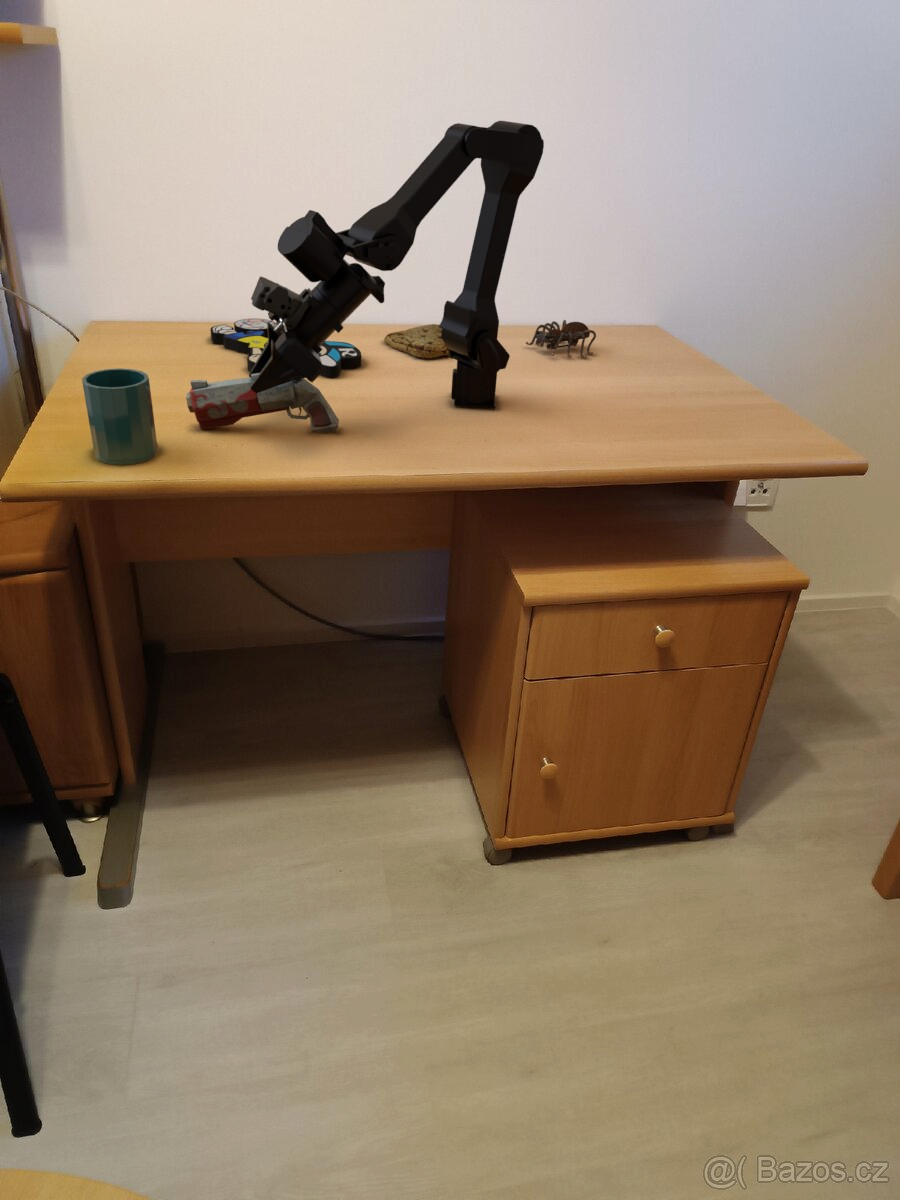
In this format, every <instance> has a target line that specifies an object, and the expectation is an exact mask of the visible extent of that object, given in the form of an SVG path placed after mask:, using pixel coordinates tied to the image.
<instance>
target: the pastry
mask: <svg viewBox="0 0 900 1200" xmlns="http://www.w3.org/2000/svg"><path fill="white" fill-rule="evenodd" d="M439 325H440V324H435V323H434V324H433V323H432V324H425V325H419V326H416V327H412V328H408V329H405V330H399V331H394V332H390V333H388V334H387V335H385V336H384V343H385V344H386V345H387V346H389V347H391V348H393V349H395V350H396V351H400V352H404V353H407V354H409V355H410V356H414V357H418V358H423V359H424V358H425V359H435V358H439V357H442V356H449V353H448V349H447V347H446V346H445V344H444V342H443V340H442V337H441V333H442V328H439Z"/></svg>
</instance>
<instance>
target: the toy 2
mask: <svg viewBox="0 0 900 1200" xmlns="http://www.w3.org/2000/svg"><path fill="white" fill-rule="evenodd" d="M540 329H542V330H540ZM546 330H547V331H546ZM591 334H592V335H593V337H592V339H590V342H589V344H588V345H587V347H586V353H587V355H589V356H591V355H592V356H593V354H594V352H593V351H590V348H591V347H592V344H593V342H594V341H595V339H596V338H597V333H596V331H594V330H592V329H589V326H588V325H586V324H585V323H584V322H580V321H571V322H568V323H567V320H566V319H564V320H562V326H561V328H560V324H559V323H558V322H557V321H555V320H554V321H553V320H552V322H551V323H550V322H546V323H545V324H539V325H538V326H537V327H536V330H535V332H534V335H533V337H532V339H531V341H530V342H528V341H526V342H525V344H526V345H527V346H533V345H534V344H535V346H539V347H540V348H544V346H545V347H546V349H547V350H552V353H551V356H552V357H553V356H555V355H556V354H555V353H556V351H557V349H559V348H566V347H567V352H566V356H567V358H572V354H571V353H570V352H571V347H572V346H573V347H576V346H577V345H578V343H579V340H581V344H580V352H579V356H580V357H581V359H587V358H588V356H587V355H584V354H583V353H584V348H585V341H586V339H588V338H590V336H591ZM563 342H567V344H562V345H560V344H561V343H563ZM545 343H546V345H545Z"/></svg>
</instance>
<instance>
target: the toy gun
mask: <svg viewBox="0 0 900 1200" xmlns="http://www.w3.org/2000/svg"><path fill="white" fill-rule="evenodd" d="M259 374H260V373H256V374H252V375H251V377H249V376H248V377H242V378H241V377H240V378H234V379H226V380H219V381H218V380H217V381H213V382H208V380H207V379H191V380H190V386H191V388H190V390H189V391H188V392H186V395H185V399H186V405H187V409H188V412H189V413H192V414H194V416H195V419H196V422H197V424H198V425H199V429H200V430H201V431H203V430H208V429H216V428H220V427H226V426H232V425H234V424H236V423H238V422H239V421H241V420H242V419H244V418H248V417H255V416H260V415H265V414H267V415H268V414H272V413H277V412H283V411H284V412H285V411H286V413H287V416H288V417H289V418H290V419H293V420H308V419H309V421H310V430H311V432H313V433H314V434H315V433H316V434H335V433H337V430H338V428H339V424H340V419H339V417H338V416H337V414H336V413H335V411H334V410H333V407H332V406H331V405H330V404H329V402H328V401H327V399H326V398H325V396H324V395H323V394H322V392H321V390H320V389H319V388H318V387H317V386H315V385H314V384H313V383H312V382H310V381H309V380H308V379H306V378H299V379H296V380H293V381H290V382H287V383H284V384H281V385H278V386H275V387H273V388H270V389H267V390H265V391H262V392H259V393H255V392H254V391H252V390H251V386H252V384H253V382H254V381H255V379H256V378H257V376H258V375H259ZM295 409H298V410H299V413H298V414H293V413H292V411H291V410H295ZM302 410H303V411H304V412H305V413H306V414H305V415H302Z"/></svg>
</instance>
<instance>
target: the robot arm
mask: <svg viewBox="0 0 900 1200" xmlns="http://www.w3.org/2000/svg"><path fill="white" fill-rule="evenodd" d="M544 141H545V140H544V139H543V138H542V134H541V132H540V131H539V129H538V128H537V127H536V126H534V125H533V124H530V123H529V124H528V123H521V122H515V121H506V120H498V121H495V122H493V123H492V124H491V125H490V126H488V127H486V126H485V127H484V126H477V125H473V124H465V123H460V122H457V123H454V124H452V125H450V126H449V127H448V128H447V129H446V130H445V133H444V136H443V137H442V139H441V140H440V141H439V142H438V144H437V145H436V146H435V147H434V148H433V149H432V150H431V151H430V153H429V154H427V156H426V157H425V159H424V160H423V161H421V163H420V164H419V165H418V166H417V167H416V168H415V170H414V171H413V172H412V174H410V176H409V177H408V178H407V180H405V182H403V184H402V185H401V186H400V188H399V189H398V190H397V191H396V192H395V193H394V195H393V196H391V197H390V198H389V199H387V200H386V201H384V202H382V203H381V204H378V205H376V206H375V207H372V208H370V209H369V210H368V211H367V212H365V213H364V214H363V215H362V216H360V218H358V219H357V220H356V221H355V222H353V224H352V225H351V226H350V228H348V229H344V230H340V231H337V232H336V231H334V229H333V228H332V227H331V226H330V225H329V224H328V223H327V221H326V219H325V218H324V217H323V216H322V215H321V213H319V212H318V211H315V210H312V209H309V210H308V211H307V212H306V214H305V216H301V217H299V218H298V219H296V220H294V221H293V222H292V223H291V224H290V225H289V226H286V227H285V228H284V229H283V231H282V232H281V234H280V236H279V239H278V241H277V251H278V252H279V253H280V255H281V256H283V257H284V258H285V259H286V260H287V261H288V262H289V264H292V266H293V267H294V268H295V269H296V270H297V271H298V272H299V273H300V274H301V275H302V276H304V277H305V278H306V280H307V281H309V282H311V283H317V284H316V285H315V286H314V287H313V288H312V289H311V288H310V287H308V288H304V289H303V290H302V291H301V292H300V293H297V292H295V291H292V290H291V289H289V288H288V287H286V286H283V285H281V284H280V283H278V282H275V281H273V280H270V279H269V278H267V277H264V276H259V277H258V280H257V282H256V285H255V287H254V290H253V292H252V295H251V297H250V300H251V305H252V306H253V307H254V308H256V309H258V310H260V311H266V312H267V315H268V320H270V321H273V322H275V324H274V325H273V326H272V325H271V324H270V323H269V322H268V323H267V328H268V341H267V343H266V345H265V347H264V349H263V351H262V352H261V354H260V356H259V358H258V360H257V361H256V363H255V365H254V367H253V368H252V370H251V372H249V373H248V378H249V377H251V375H252V374H256V373H260V374H259V375H258V376H257V378H256V379H255V381H254V382H253V384H252V386H251V390H252V391H254V392H255V393H259V392H262V391H265V390H267V389H270V388H273V387H275V386H278V385H281V384H284V383H287V382H290V381H293V380H296V379H299V378H304V379H306V380H307V381H308V382H309V383H314V382H315V380H317V378H318V377H320V376H321V375H320V374H321V373H322V362H321V359H320V357H319V355H318V354H319V353H320V352H321V351H322V348H321V345H322V343H323V342H324V341H327V340H328V339H329V338H330V337H331V335H332V334H334V333H335V331H336V333H338V334H339V333H340V332H341V331H342V330H343V329H344V325H343V323H344V322H345V321H346V320H347V319H348V318H349V317H351V315H352V314H353V313H354V312H355V311H356V310H357V309H358V308H359V307H360V306H361V305H362V304H363V303H364V302H365V301H366V300H367V298H368V297H369V296H372V297H373V298H374V299H375V300H376V301H377V302H379V303H380V304H383V303H385V286H386V282H385V281H384V279H382V277H381V276H380V275H371V274H370V273H369V271H367V270H366V269H365V268H364V266H362V264H363V265H366V266H368V267H371V268H374V269H377V270H379V271H381V272H389V271H390V272H392V271H394V270H395V269H397V268H398V267H399V266H400V265H402V263H403V261H404V259H405V258H406V256H407V255H408V253H409V252H410V250H411V248H412V246H413V245H414V243H415V238H416V233H417V230H418V228H419V226H420V224H421V223H422V221H423V220H424V219H425V217H426V216H427V215H428V214H429V213H430V212H431V210H433V208H434V207H435V206H436V205H437V203H438V202H439V201H440V200H441V199H442V198H443V196H444V195H445V194H446V193H447V192H448V191H449V189H451V187H452V186H453V185H454V184H455V182H457V180H458V179H459V178H460V177H461V176H462V175H463V173H464V172H465V171H466V170H467V169H468V168H469V166H470V165H471V164H472V163H473V161H475V160H476V159H480V168H481V173H482V178H483V183H484V193H483V198H482V202H481V206H480V211H479V216H478V220H477V223H476V224H477V225H476V229H475V233H474V238H473V243H472V247H471V251H470V256H469V260H468V265H467V270H466V272H465V273H466V274H465V279H464V283H463V288H462V291H461V292H460V294H459V295H458V296H457V298H456V299H455V300H454V301H450V300H446V301H445V303H444V305H443V314H442V315H443V316H442V319H441V322H440V324H438V325H439V328H442V333H441V337H442V340H443V342H444V344H445V346H446V347H447V349H448V353H449V355H448V356H449V358H450V359H454V360H456V368H453V369H452V376H451V377H452V378H451V392H450V393H451V394H450V395H451V396H450V398H451V400H453V406H454V407H457V408H471V409H472V408H473V409H492V410H495V409H496V407H497V406H496V405H497V404H496V391H497V378H498V372H499V371H500V370H505V369H506V368H507V365H508V363H509V361H510V358H511V355H510V353H509V352H508V351H507V349H505V347H504V345H502V344H501V342H500V341H499V340H498V335H499V326H500V317H499V314H498V310H497V305H496V295H497V291H498V286H499V283H500V279H501V274H502V271H503V270H502V269H503V266H504V262H505V258H506V254H507V249H508V244H509V240H510V236H511V232H512V228H513V223H514V220H515V215H516V211H517V207H518V203H519V200H520V196H521V195H522V194H523V192H524V191H525V190H526V188H527V187H528V186H529V185H530V184H531V182H532V181H533V180H534V178H535V176H536V174H537V171H538V168H539V166H540V163H541V160H542V157H543V154H544V148H545V142H544ZM346 256H349V257H350V258H353V259H354V260H355V261H356V262H352V263H349V262H348V261H347V260H346V259H345V257H346ZM360 263H361V264H360Z"/></svg>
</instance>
